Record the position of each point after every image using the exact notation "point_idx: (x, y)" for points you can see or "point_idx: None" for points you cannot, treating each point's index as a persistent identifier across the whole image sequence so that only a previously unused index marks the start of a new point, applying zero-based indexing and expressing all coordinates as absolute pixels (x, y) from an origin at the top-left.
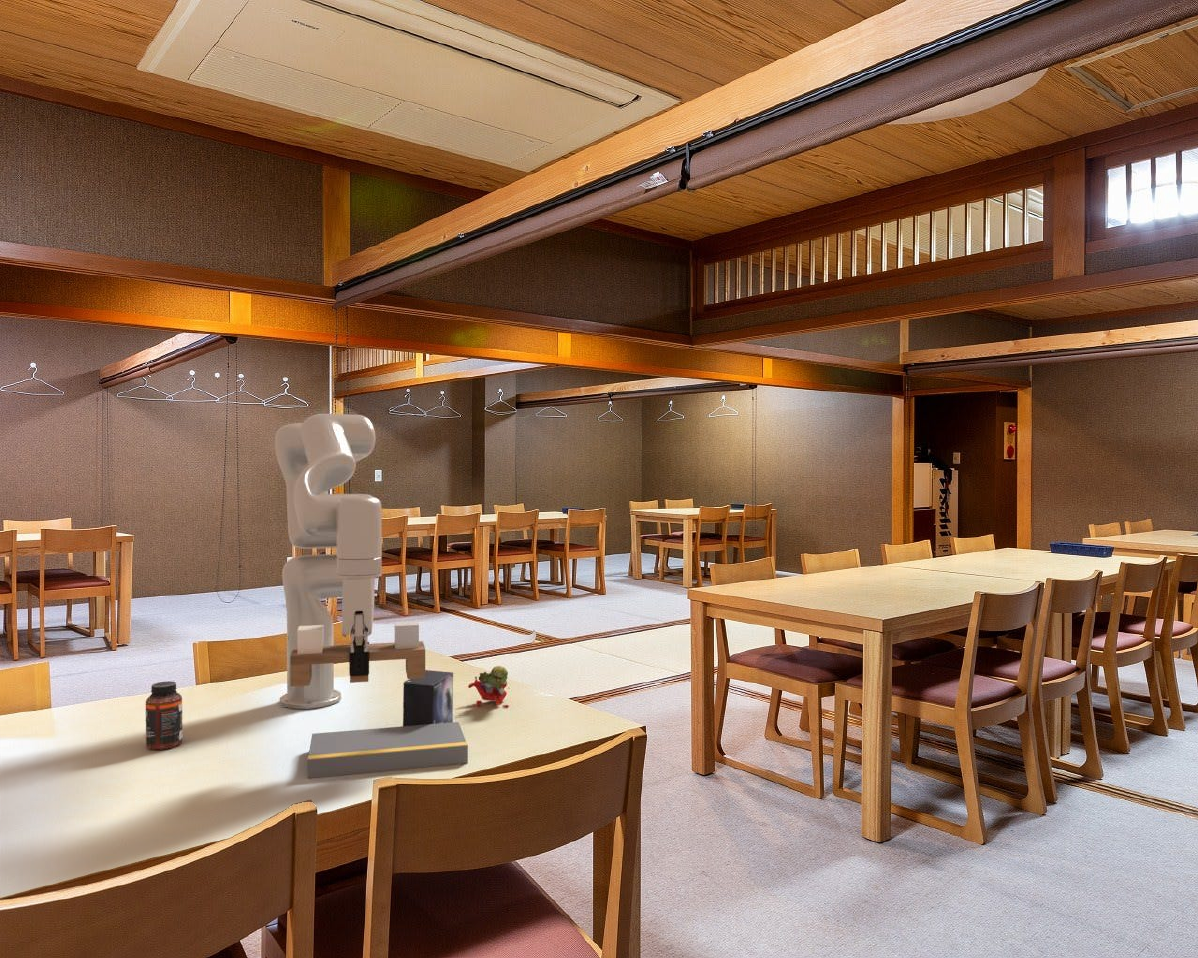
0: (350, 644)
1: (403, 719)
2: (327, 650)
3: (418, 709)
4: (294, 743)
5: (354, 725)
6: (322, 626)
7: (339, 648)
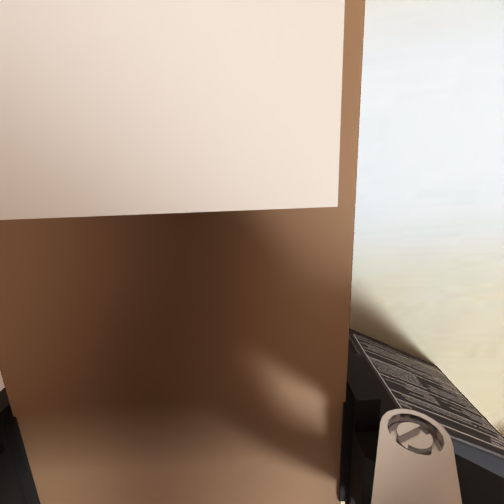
0: (351, 394)
1: (355, 349)
2: (147, 227)
3: None
4: (377, 90)
5: (467, 225)
6: (57, 191)
7: (211, 323)
